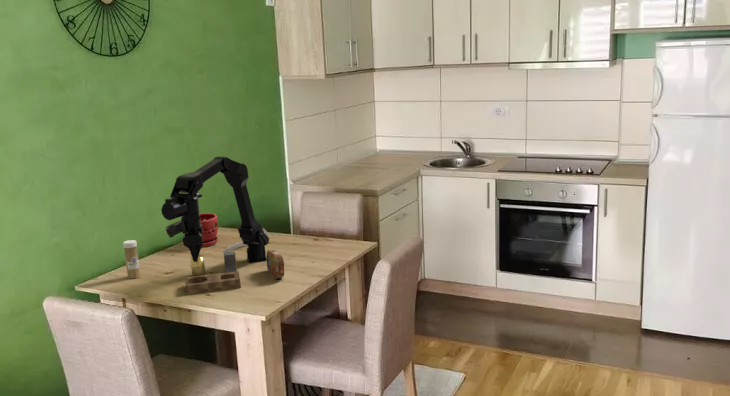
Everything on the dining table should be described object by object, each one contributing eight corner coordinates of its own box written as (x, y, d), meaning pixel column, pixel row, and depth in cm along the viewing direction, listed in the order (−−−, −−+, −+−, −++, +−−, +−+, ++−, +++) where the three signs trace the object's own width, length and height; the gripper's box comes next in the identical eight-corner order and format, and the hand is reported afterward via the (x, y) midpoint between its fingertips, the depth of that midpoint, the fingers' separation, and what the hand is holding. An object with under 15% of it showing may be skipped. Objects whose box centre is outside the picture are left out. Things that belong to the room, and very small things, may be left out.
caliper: (266, 241, 286) (265, 227, 285) (268, 241, 286) (267, 227, 284) (223, 252, 274) (221, 237, 272) (224, 252, 273) (223, 237, 272)
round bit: (205, 272, 249) (203, 254, 247) (205, 276, 244) (203, 257, 243) (192, 274, 248) (190, 255, 246) (191, 278, 243) (189, 259, 242)
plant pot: (190, 241, 292) (187, 214, 289) (221, 239, 292) (219, 212, 290) (185, 249, 279) (182, 221, 276) (217, 247, 280) (214, 219, 277)
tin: (266, 270, 249) (264, 247, 247) (274, 268, 250) (273, 246, 248) (277, 282, 235) (276, 258, 233) (286, 280, 236) (285, 257, 234)
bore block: (239, 279, 240) (238, 271, 239) (240, 287, 231) (240, 279, 230) (186, 285, 236) (186, 277, 235) (186, 294, 227) (185, 285, 226)
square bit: (236, 269, 251) (234, 251, 249) (236, 272, 247) (235, 254, 246) (225, 270, 250) (223, 252, 249) (225, 273, 246) (223, 255, 245)
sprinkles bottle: (133, 279, 245) (128, 243, 242) (124, 277, 247) (120, 242, 244) (143, 275, 248) (138, 240, 245) (135, 274, 251) (130, 239, 248)
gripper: (166, 209, 234) (171, 252, 237) (164, 221, 216) (169, 268, 219) (200, 205, 236) (204, 249, 239) (200, 218, 218) (204, 264, 222)
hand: (195, 257), depth 230 cm, fingers open, 9 cm apart
